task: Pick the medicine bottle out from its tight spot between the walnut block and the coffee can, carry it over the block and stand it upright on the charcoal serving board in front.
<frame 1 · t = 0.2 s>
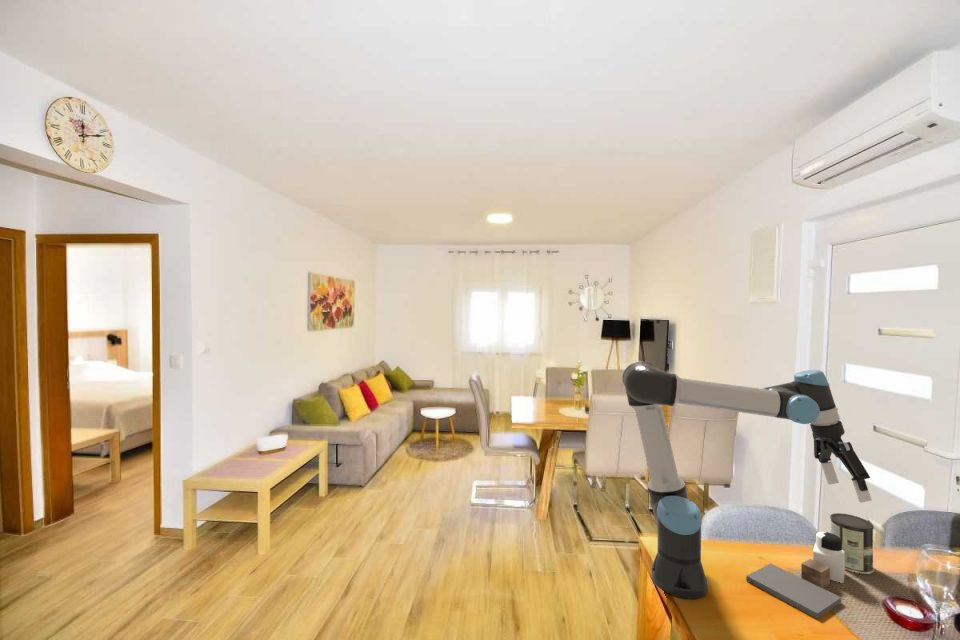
hand: (848, 491, 124), 27 cm above the table, tool tilted 15°, fingers open, 13 cm apart
medicine bottle: (828, 574, 128), on the table
coffee can: (851, 565, 133), on the table
charcoal serving board: (791, 591, 120), on the table
walnut block: (815, 582, 124), on the table
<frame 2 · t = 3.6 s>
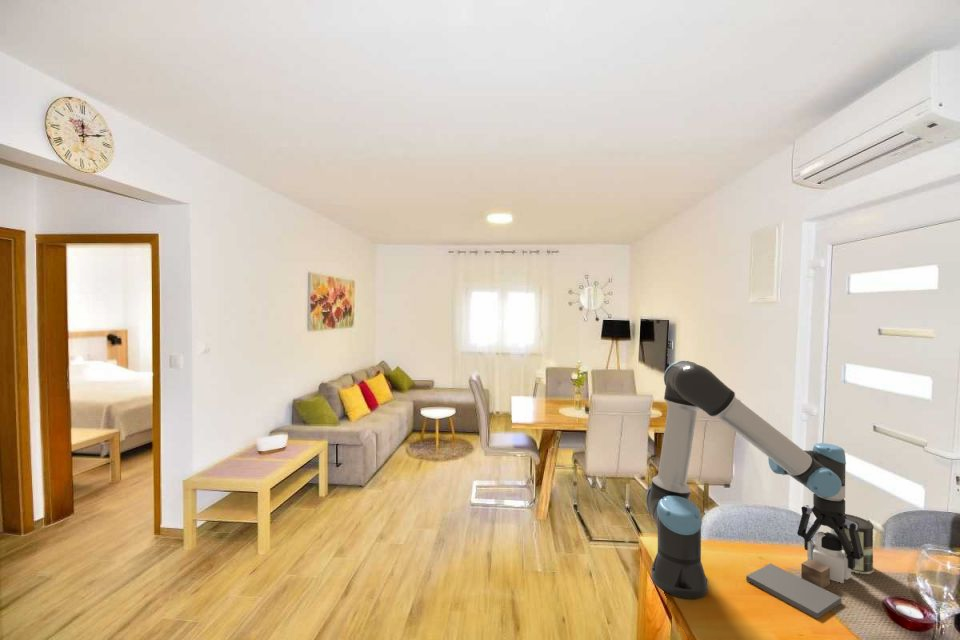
hand: (828, 569, 128), 1 cm above the table, tool pointing down, fingers closed on medicine bottle, 8 cm apart
medicine bottle: (828, 574, 128), on the table, touching gripper
everything else where it was.
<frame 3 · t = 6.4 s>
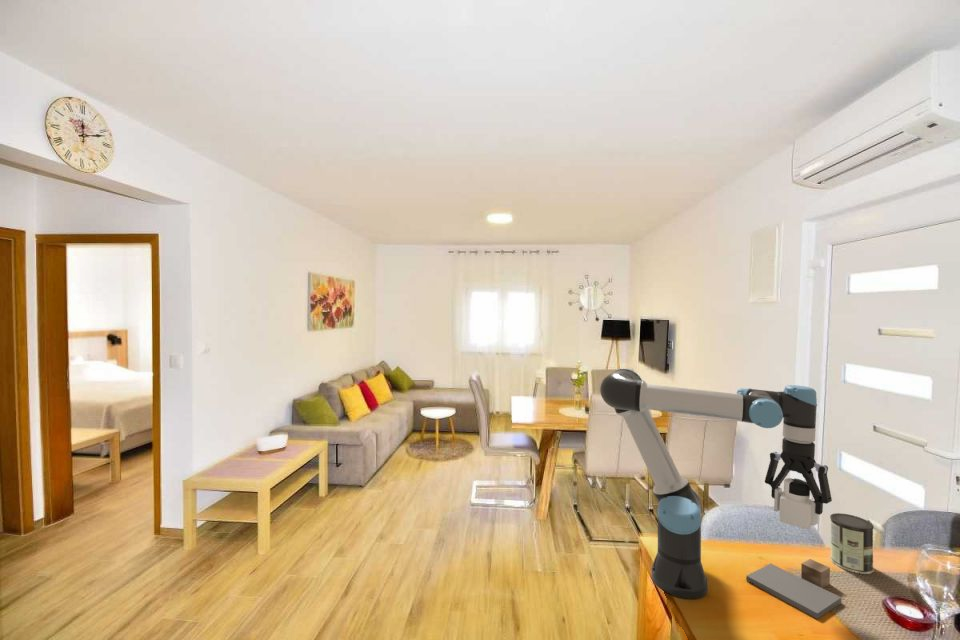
hand: (795, 516, 122), 21 cm above the table, tool pointing down, fingers closed on medicine bottle, 8 cm apart
medicine bottle: (795, 522, 122), point 19 cm above the table, touching gripper
everything else where it was.
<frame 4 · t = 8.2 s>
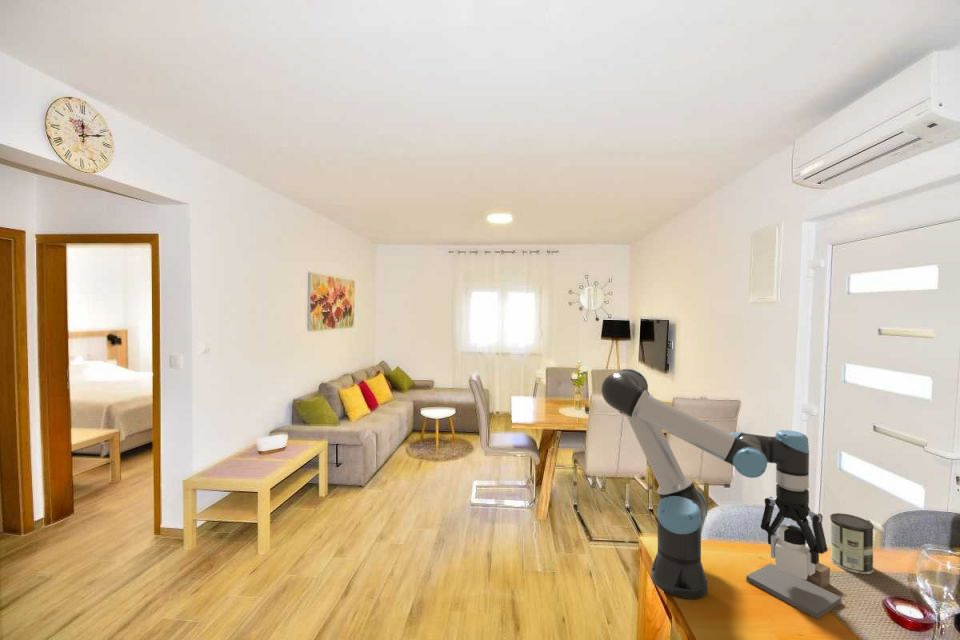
hand: (792, 564, 120), 8 cm above the table, tool pointing down, fingers closed on medicine bottle, 8 cm apart
medicine bottle: (792, 570, 120), point 6 cm above the table, touching gripper
everything else where it was.
when the fingers open (5 cm above the table, at t = 9.6 s): medicine bottle drops 2 cm, resting on charcoal serving board.
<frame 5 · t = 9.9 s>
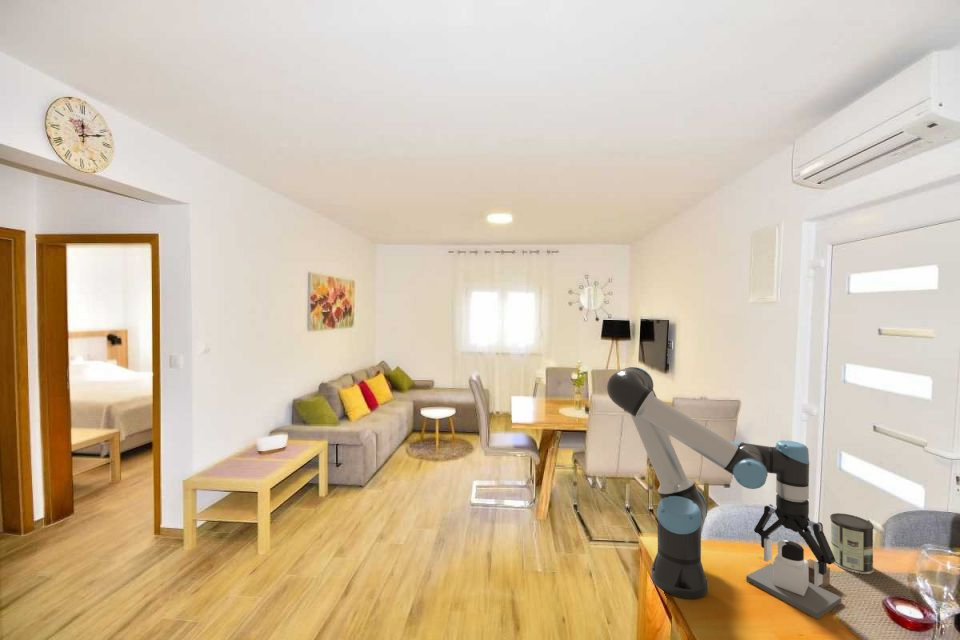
hand: (791, 571, 120), 6 cm above the table, tool pointing down, fingers open, 12 cm apart
medicine bottle: (791, 586, 120), point 1 cm above the table, touching charcoal serving board
everything else where it was.
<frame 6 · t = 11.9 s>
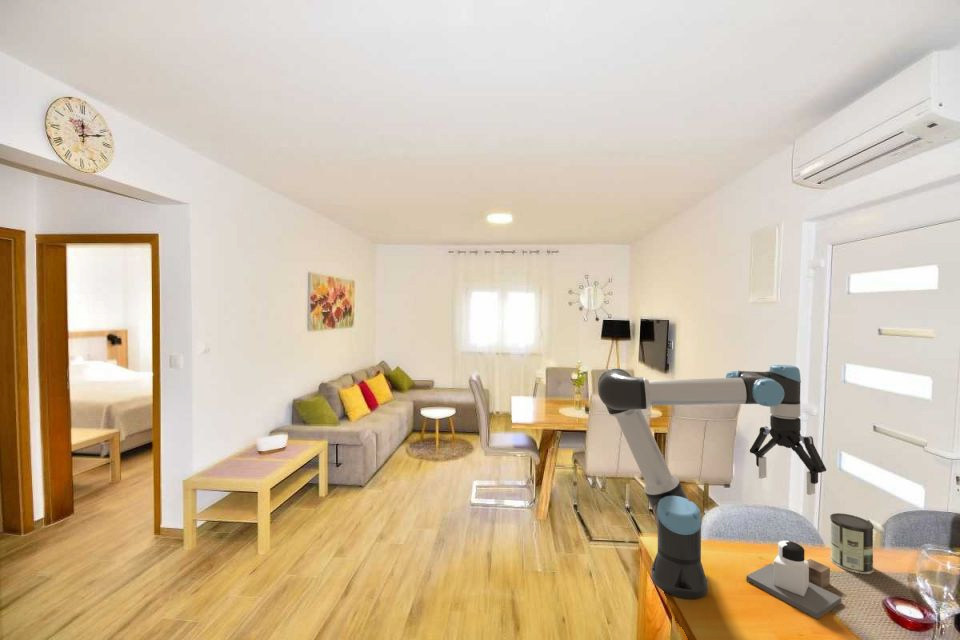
hand: (785, 485, 128), 27 cm above the table, tool pointing down, fingers open, 13 cm apart
nothing on the table moved.
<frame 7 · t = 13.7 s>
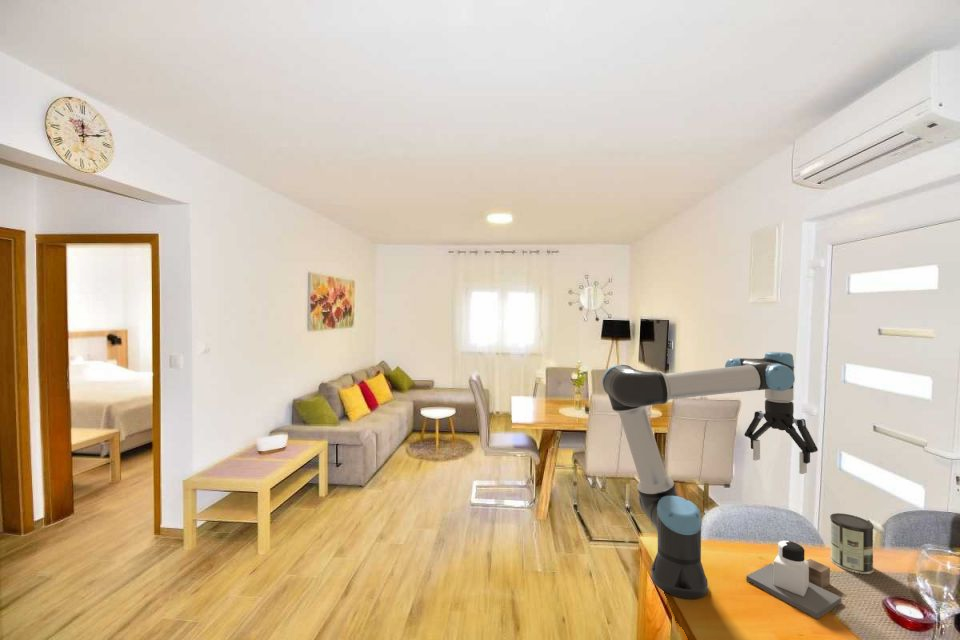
hand: (778, 466, 135), 31 cm above the table, tool pointing down, fingers open, 13 cm apart
nothing on the table moved.
at the end: medicine bottle inside the target area on the charcoal serving board (0.2 cm from its centre), point 1.3 cm above the charcoal serving board's base; medicine bottle tilted 0°; walnut block moved 0.1 cm from its start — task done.
